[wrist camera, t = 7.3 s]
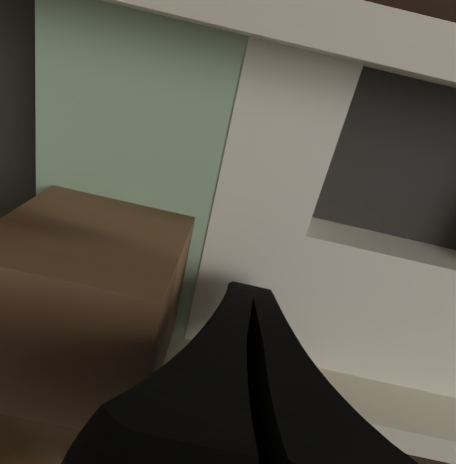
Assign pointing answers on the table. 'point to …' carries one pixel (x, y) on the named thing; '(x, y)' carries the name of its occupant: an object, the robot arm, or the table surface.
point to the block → (85, 301)
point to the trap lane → (267, 169)
